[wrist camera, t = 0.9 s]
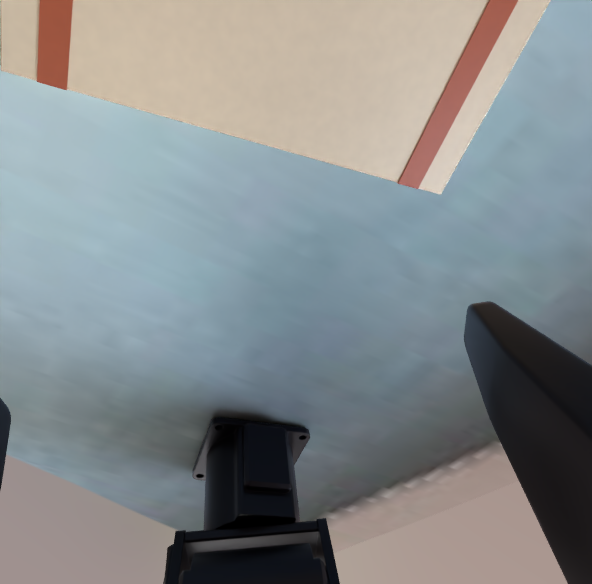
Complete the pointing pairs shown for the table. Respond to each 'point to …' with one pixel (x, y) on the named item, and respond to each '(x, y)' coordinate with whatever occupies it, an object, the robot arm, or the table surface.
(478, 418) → the table surface
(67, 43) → the napkin
